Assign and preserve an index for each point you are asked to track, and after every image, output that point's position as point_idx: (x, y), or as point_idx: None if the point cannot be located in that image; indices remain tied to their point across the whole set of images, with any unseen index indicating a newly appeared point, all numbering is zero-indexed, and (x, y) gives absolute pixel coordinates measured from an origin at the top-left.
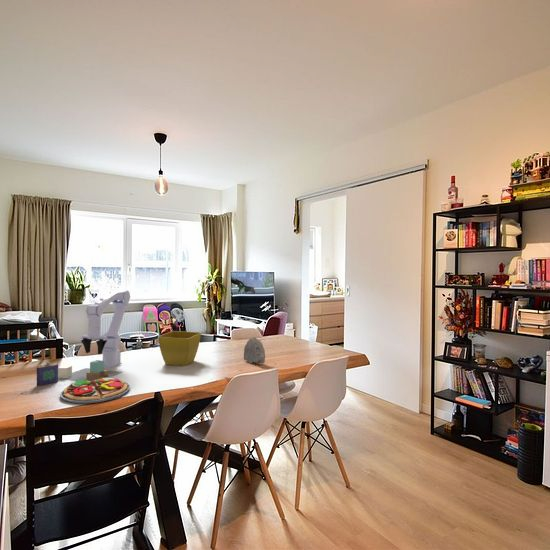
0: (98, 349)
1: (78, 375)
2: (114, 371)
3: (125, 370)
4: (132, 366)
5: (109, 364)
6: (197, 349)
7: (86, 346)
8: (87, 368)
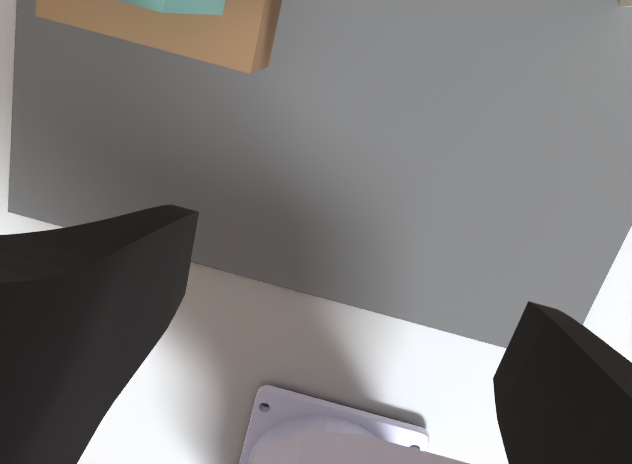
0: (122, 229)
1: (515, 11)
2: None
3: None
4: None
5: (288, 432)
6: None
7: (603, 413)
8: None
